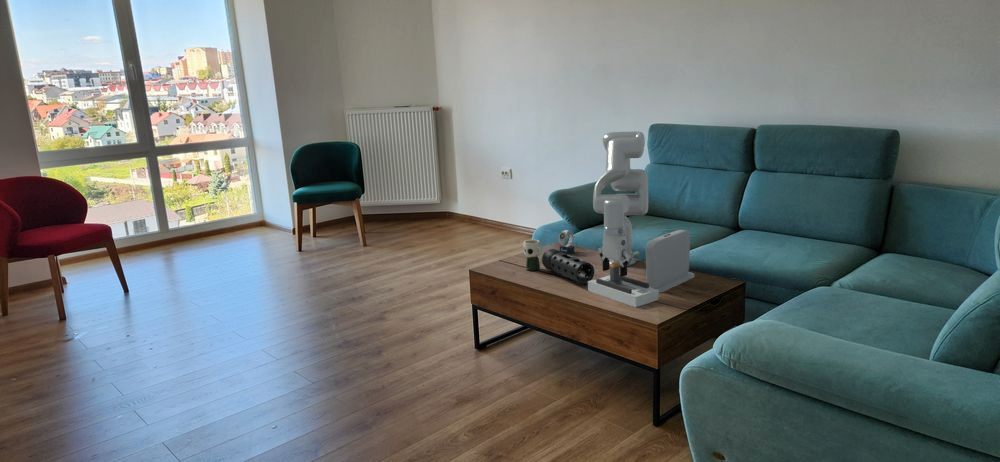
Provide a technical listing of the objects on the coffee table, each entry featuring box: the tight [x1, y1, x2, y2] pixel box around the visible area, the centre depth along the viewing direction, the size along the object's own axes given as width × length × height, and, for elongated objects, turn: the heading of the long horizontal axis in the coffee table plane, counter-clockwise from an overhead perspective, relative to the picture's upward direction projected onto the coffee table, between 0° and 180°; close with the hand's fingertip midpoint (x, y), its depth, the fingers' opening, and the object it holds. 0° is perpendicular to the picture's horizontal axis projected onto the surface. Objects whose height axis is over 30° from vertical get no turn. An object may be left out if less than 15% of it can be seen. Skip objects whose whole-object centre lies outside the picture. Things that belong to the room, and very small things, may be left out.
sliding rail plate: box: [595, 274, 649, 294], centre depth 255 cm, size 10×18×2 cm, turn 34°
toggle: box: [608, 262, 622, 284], centre depth 258 cm, size 4×4×8 cm
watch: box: [557, 229, 575, 255], centre depth 320 cm, size 6×8×11 cm
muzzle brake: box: [541, 248, 595, 286], centre depth 281 cm, size 10×28×10 cm, turn 27°
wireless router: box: [645, 229, 696, 294], centre depth 267 cm, size 31×10×20 cm, turn 134°
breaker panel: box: [587, 274, 659, 308], centre depth 256 cm, size 12×26×4 cm, turn 34°
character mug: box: [522, 239, 542, 271], centre depth 295 cm, size 11×7×13 cm, turn 42°
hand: (614, 272), depth 258 cm, fingers open, 9 cm apart
